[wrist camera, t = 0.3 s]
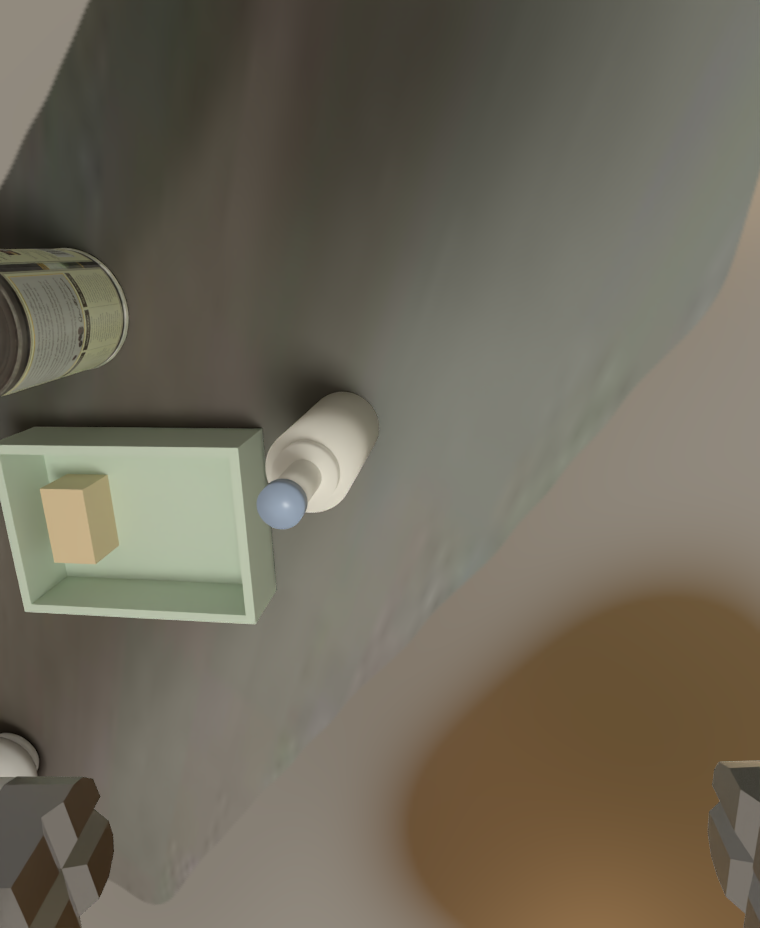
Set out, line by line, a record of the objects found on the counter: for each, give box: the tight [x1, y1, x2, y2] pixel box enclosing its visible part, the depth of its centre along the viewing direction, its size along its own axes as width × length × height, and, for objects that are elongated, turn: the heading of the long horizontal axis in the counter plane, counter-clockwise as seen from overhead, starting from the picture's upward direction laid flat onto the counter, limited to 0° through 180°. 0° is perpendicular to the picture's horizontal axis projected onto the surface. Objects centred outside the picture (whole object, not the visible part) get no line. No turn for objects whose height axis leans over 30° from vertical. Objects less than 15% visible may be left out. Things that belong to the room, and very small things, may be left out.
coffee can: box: [0, 248, 129, 397], centre depth 50 cm, size 10×10×14 cm
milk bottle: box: [257, 392, 379, 529], centre depth 47 cm, size 6×6×19 cm
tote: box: [0, 427, 277, 624], centre depth 58 cm, size 16×22×6 cm
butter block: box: [40, 474, 119, 564], centre depth 59 cm, size 7×4×4 cm, turn 2°
